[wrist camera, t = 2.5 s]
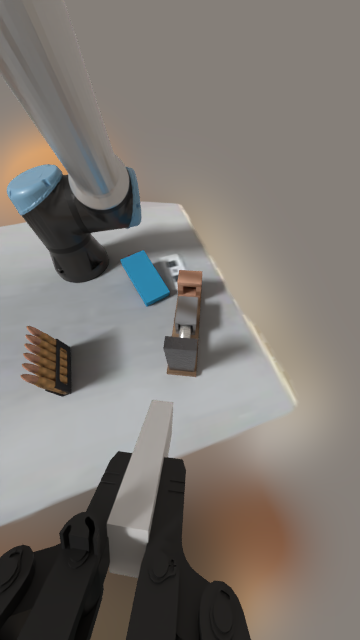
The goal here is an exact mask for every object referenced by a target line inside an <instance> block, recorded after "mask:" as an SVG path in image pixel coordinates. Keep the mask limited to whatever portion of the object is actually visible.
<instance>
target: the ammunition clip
mask: <svg viewBox="0 0 360 640" xmlns="http://www.w3.org/2000/svg"><path fill="white" fill-rule="evenodd" d="M27 329H28V331H29V332H30V333H32V334H33V335H34V336H32V335H26V338H27V339H28V340H29V341H30V342H31V343H33V344H35V345H36V346H35V345H32V344H24V345H25V347H26V348H27V349H28V350H29V351H31V352H32V353H34V354H36V355H34V354H30V353H24V354H23V355H24V357H25V358H26V359H28V360H29V361H31V362H33V363H34V364H36V365H38V366H36V365H33V364H28V363H24V364H22V366H23V367H24V368H25V369H26V370H28V371H29V372H32V373H34V374H36V375H37V376H35V375H30V374H23V375H21V378H22V379H23V380H25V381H27V382H29V383H32V384H34V385H36V386H37V387H40V388H43V389H45V391H48V392H51V393H53V394H56V395H59V396H65V395H68V394H71V356H70V347H69V346H67V345H66V344H64V343H63V342H61V341H60V340H58V339H54V338H52V337H51V336H49V335H48V334H46V333H43V332H42V331H40V330H38V329H36V328H34V327H31V326H27ZM35 336H36V337H35ZM38 376H39V377H38Z"/></svg>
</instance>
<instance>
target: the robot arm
mask: <svg viewBox="0 0 360 640" xmlns="http://www.w3.org/2000/svg"><path fill="white" fill-rule="evenodd" d="M0 75H1V77H2V78H3V79H4V81H5V82H6V84H7V85H8V86H9V88H10V89H11V91H12V92H13V94H14V95H15V97H16V98H17V99H18V101H19V102H20V104H21V105H22V107H23V108H24V110H25V111H26V112H27V114H28V115H29V117H30V118H31V120H32V121H33V122H34V124H35V125H36V127H37V128H38V130H39V131H40V133H41V134H42V136H43V137H44V138H45V140H46V141H47V143H48V144H49V146H50V147H51V148H52V150H53V151H54V153H55V154H56V156H57V157H58V159H59V160H60V161H61V163H62V164H63V166H64V167H65V168H66V170H67V172H68V175H62V171H61V170H60V169H59V168H58V167H57V166H55V165H49V164H48V165H41V166H38V167H35V168H32V169H29V170H27V171H25V172H23V173H21V174H20V175H18V176H17V177H16V178H14V179H13V180H12V181H11V182H10V183H9V185H8V187H7V194H8V197H9V198H10V200H11V201H12V203H13V204H14V206H15V207H16V209H17V210H18V213H19V214H20V215H22V217H23V218H24V219H25V221H26V222H27V223H28V224H29V226H30V227H31V228H32V230H33V231H34V232H35V233H36V235H37V236H38V237H39V239H40V240H41V241H42V242H43V244H44V245H45V246H46V248H47V249H48V250H49V252H50V255H51V258H52V261H53V264H54V267H55V269H56V271H57V273H58V274H59V275H60V276H61V277H62V278H63V279H64V280H66V281H69V282H84V281H88V280H91V279H93V278H95V277H97V276H99V275H100V274H101V273H102V272H103V271H104V270H105V269H106V268H107V266H108V263H109V258H108V255H107V253H106V251H105V249H104V248H103V247H102V246H101V245H100V244H99V243H98V241H97V240H96V239H95V238H94V237H93V236H92V235H91V233H92V232H100V231H107V230H114V229H122V228H127V229H128V228H130V227H134V226H138V225H139V224H140V223H141V206H140V196H139V189H138V183H137V179H136V174H135V172H134V170H133V169H132V168H128V167H125V165H124V164H123V162H122V161H121V159H120V158H118V156H116V155H115V154H114V153H113V150H112V147H111V144H110V141H109V137H108V134H107V132H106V128H105V125H104V122H103V119H102V116H101V113H100V110H99V107H98V103H97V100H96V97H95V94H94V91H93V88H92V85H91V82H90V79H89V76H88V72H87V70H86V66H85V64H84V60H83V57H82V54H81V51H80V48H79V45H78V41H77V38H76V35H75V32H74V29H73V26H72V23H71V20H70V17H69V14H68V11H67V7H66V5H65V1H64V0H0ZM172 416H173V402H165V401H156V400H152V402H151V404H150V407H149V410H148V412H147V415H146V418H145V421H144V423H143V426H142V429H141V432H140V434H139V437H138V440H137V442H136V445H135V448H134V451H133V453H127V452H120V451H118V452H117V453H116V455H115V456H114V457H113V458H112V459H111V460H110V462H109V464H108V466H107V468H106V471H105V473H104V475H103V477H102V479H101V482H100V483H99V485H98V487H97V490H96V492H95V494H94V496H93V498H92V500H91V503H90V505H89V506H88V509H87V511H86V512H82V513H79V514H77V515H75V516H73V518H71V519H70V520H69V521H68V522H67V523H66V524H65V525H64V527H63V529H62V530H61V531H60V533H59V534H60V540H61V544H58V545H56V546H53V547H50V548H46V549H43V550H39V551H36V552H33V551H32V550H31V548H30V547H29V546H26V545H21V546H17V547H14V548H12V549H11V550H9V551H8V552H6V553H5V554H3V556H1V557H0V640H90V638H91V635H92V631H93V628H94V625H95V621H96V618H97V614H98V611H99V608H100V604H101V601H102V595H103V590H104V588H103V583H104V580H105V577H106V574H107V571H108V567H109V570H110V573H115V574H121V575H126V576H131V577H136V578H138V582H137V587H136V592H135V597H134V602H133V607H132V612H131V617H130V622H129V627H128V632H127V637H126V640H251V639H250V635H249V631H248V627H247V624H246V620H245V616H244V612H243V610H242V607H241V604H240V602H239V599H238V597H237V596H236V594H235V593H234V591H233V590H232V589H231V587H229V586H228V585H227V584H225V583H224V582H221V581H213V582H212V583H210V582H208V581H207V580H206V579H204V578H203V577H202V576H200V575H199V574H198V573H196V572H195V571H194V570H193V569H192V568H191V567H190V565H189V563H188V562H187V560H186V558H185V556H184V553H183V548H182V522H183V507H184V506H183V504H184V490H185V474H186V469H185V466H184V463H183V460H182V459H175V458H168V453H169V447H170V441H171V435H172Z"/></svg>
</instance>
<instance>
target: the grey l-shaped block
mask: <svg viewBox="0 0 360 640" xmlns="http://www.w3.org/2000/svg"><path fill="white" fill-rule="evenodd" d="M190 334H191V325H180V331H179V337H169V336H165V342H164V352H165V356H166V359H167V363H168V366H169V370H177V371H187V372H194V368H195V361H196V353H197V340H198V339H193V338H190Z"/></svg>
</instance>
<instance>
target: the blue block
mask: <svg viewBox="0 0 360 640" xmlns="http://www.w3.org/2000/svg"><path fill="white" fill-rule="evenodd" d="M121 263H122V266H123V267H124V269H125V271H126V272H127V274H128V276H129V278H130V279H131V281H132V283H133V284H134V286H135V288H136V290H137V291H138V293H139V295H140V296H141V298H142V300H143V301H144V303H145V305H146V306H149V305H151V304H153V303H155V302H157V301H159V300H161V299H163V298H165V297H167V296H169V293H170V291H169V290H168V288H167V286H166V285H165V283H164V282H163V280H162V278H161V277H160V275H159V274H158V272H157V271H156V269H155V267H154V266H153V264H152V263H151V261H150V259H149V258H148V256H147V255H146V253H145V252H144V250H142V251H140V252H138V253H135V254H133V255H129V256H127V257H126V258H123V259H121Z"/></svg>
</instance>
